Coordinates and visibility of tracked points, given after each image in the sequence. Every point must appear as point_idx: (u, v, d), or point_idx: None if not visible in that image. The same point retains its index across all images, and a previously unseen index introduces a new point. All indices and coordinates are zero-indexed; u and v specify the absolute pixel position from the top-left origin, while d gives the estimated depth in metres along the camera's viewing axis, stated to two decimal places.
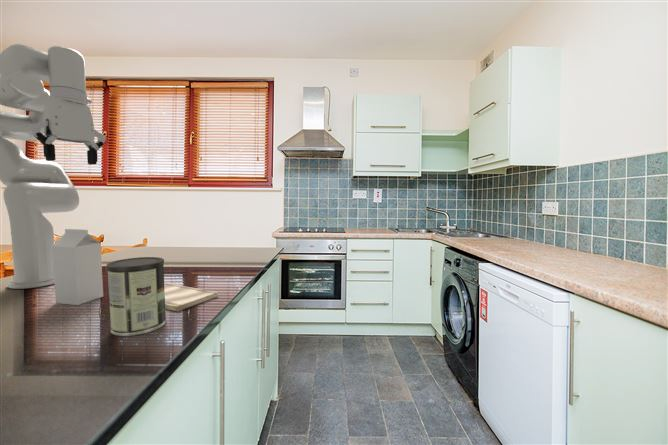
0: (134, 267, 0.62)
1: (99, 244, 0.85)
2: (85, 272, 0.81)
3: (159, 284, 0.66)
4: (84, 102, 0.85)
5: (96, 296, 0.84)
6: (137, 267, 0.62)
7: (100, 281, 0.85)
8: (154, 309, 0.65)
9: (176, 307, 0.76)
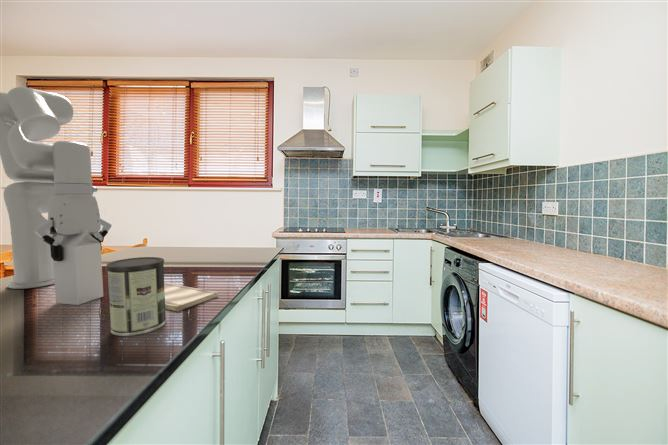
0: (134, 267, 0.62)
1: (99, 244, 0.85)
2: (85, 272, 0.81)
3: (159, 284, 0.66)
4: (90, 194, 0.82)
5: (96, 296, 0.84)
6: (137, 267, 0.62)
7: (100, 281, 0.85)
8: (154, 309, 0.65)
9: (176, 307, 0.76)
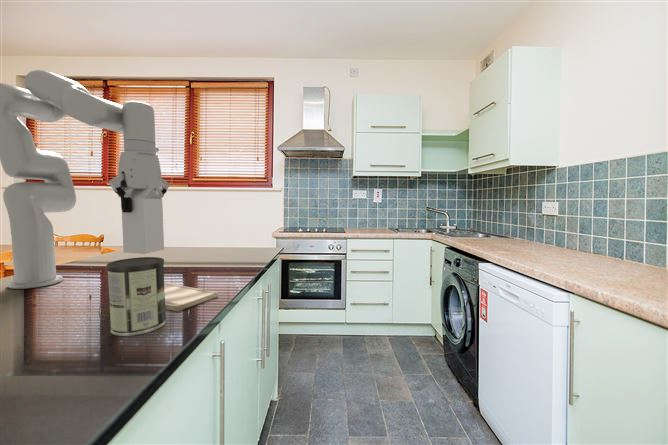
0: (134, 267, 0.62)
1: (161, 200, 0.91)
2: (150, 224, 0.87)
3: (159, 284, 0.66)
4: (154, 152, 0.88)
5: (159, 248, 0.91)
6: (137, 267, 0.62)
7: (161, 235, 0.91)
8: (154, 309, 0.65)
9: (176, 307, 0.76)
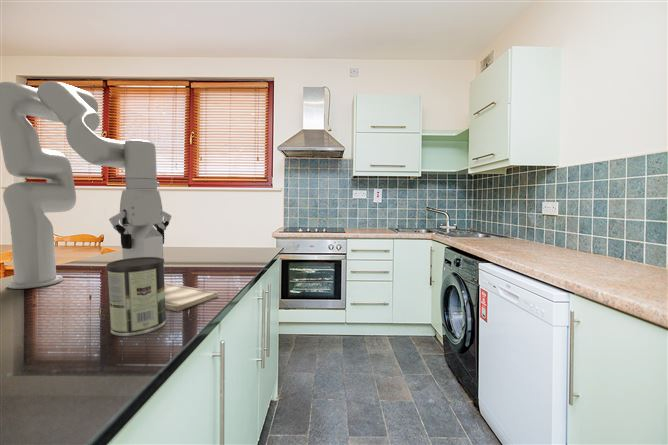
0: (134, 267, 0.62)
1: (161, 237, 0.92)
2: None
3: (159, 284, 0.66)
4: (156, 189, 0.89)
5: None
6: (137, 267, 0.62)
7: None
8: (154, 309, 0.65)
9: (176, 307, 0.76)
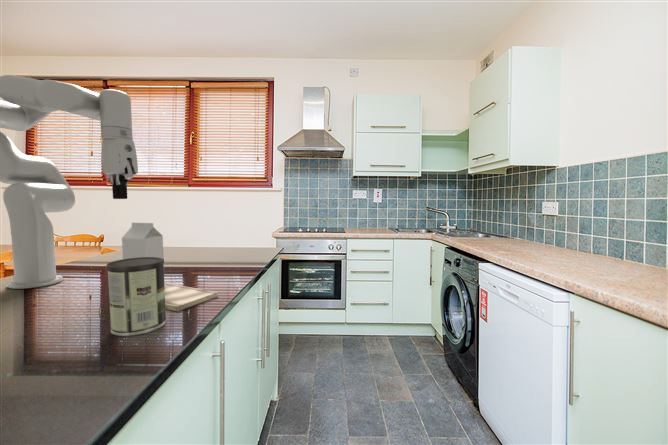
0: (134, 267, 0.62)
1: (161, 237, 0.92)
2: None
3: (159, 284, 0.66)
4: (110, 136, 0.88)
5: None
6: (137, 267, 0.62)
7: None
8: (154, 309, 0.65)
9: (176, 307, 0.76)
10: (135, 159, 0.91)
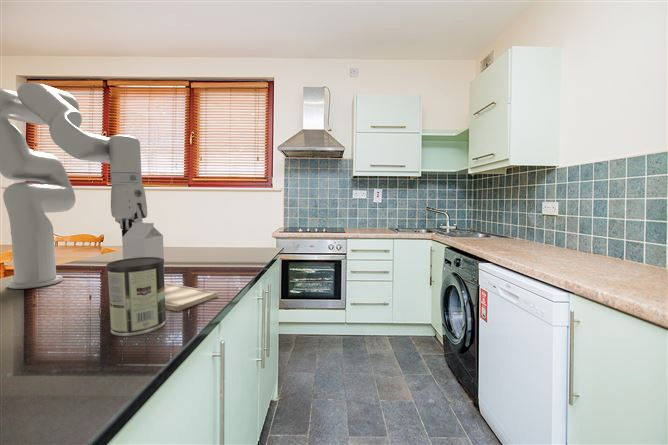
0: (134, 267, 0.62)
1: (162, 236, 0.92)
2: None
3: (159, 284, 0.66)
4: (120, 182, 0.87)
5: None
6: (137, 267, 0.62)
7: None
8: (154, 309, 0.65)
9: (176, 307, 0.76)
10: (145, 203, 0.91)
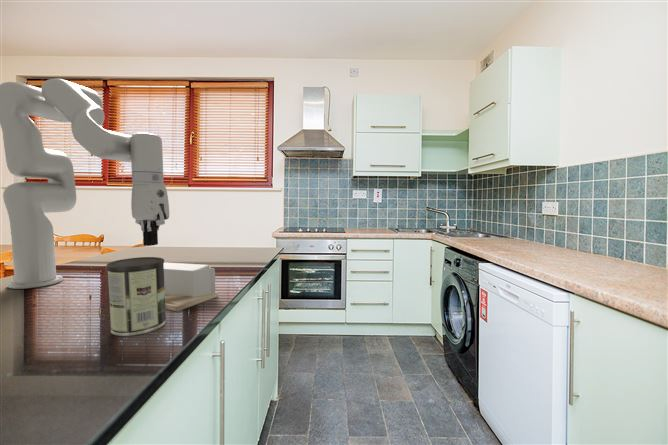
0: (134, 267, 0.62)
1: None
2: None
3: (159, 284, 0.66)
4: (142, 182, 0.83)
5: None
6: (137, 267, 0.62)
7: None
8: (154, 309, 0.65)
9: (176, 307, 0.76)
10: (167, 204, 0.87)
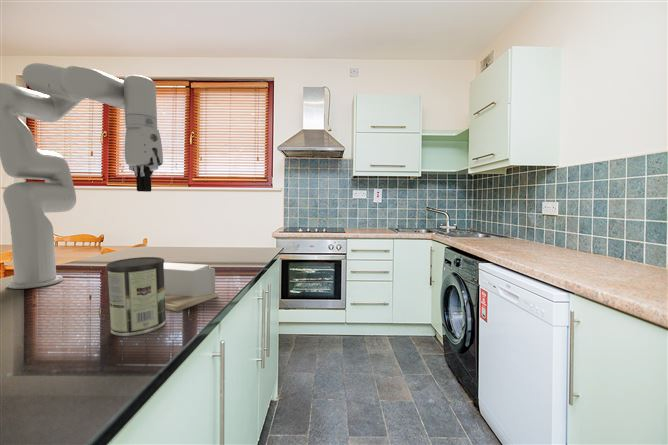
0: (134, 267, 0.62)
1: None
2: None
3: (159, 284, 0.66)
4: (135, 124, 0.83)
5: None
6: (137, 267, 0.62)
7: None
8: (154, 309, 0.65)
9: (176, 307, 0.76)
10: (160, 149, 0.87)
